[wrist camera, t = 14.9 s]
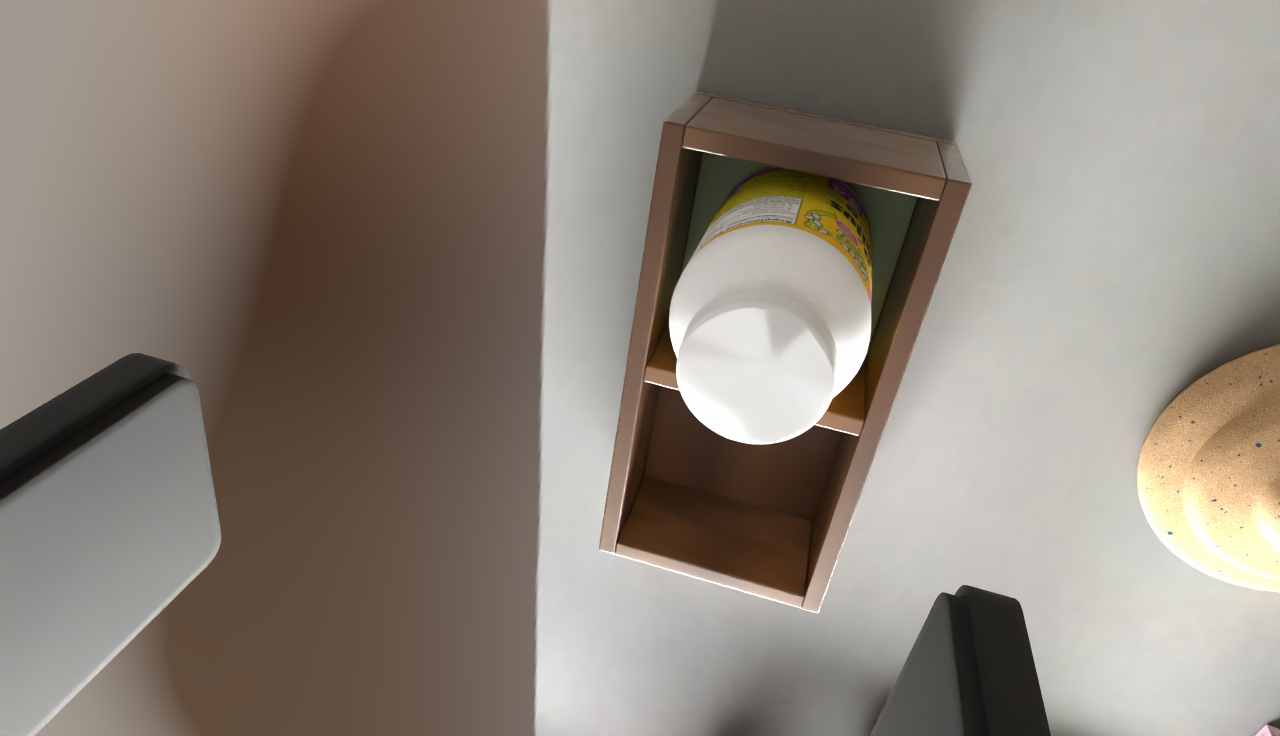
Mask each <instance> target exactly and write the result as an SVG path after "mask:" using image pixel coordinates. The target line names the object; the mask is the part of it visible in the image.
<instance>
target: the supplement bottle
mask: <svg viewBox="0 0 1280 736" xmlns="http://www.w3.org/2000/svg"><path fill="white" fill-rule="evenodd" d="M871 300H872V230H871V225H870V221H869V218H868V215H867V212H866V210H865V208H864V206H863V204H862V202H861V201H860V199H859V197H858V196H857V195H856V193H855V192H854V191H853V190H852V189H851V188H850V187H849V186H848V185H847V184H846V183H845V182H843V181H841V180H836V179H831V178H826V177H822V176H817V175H812V174H807V173H802V172H798V171H793V170H788V169H783V168H778V167H774V166H773V167H769V168H766V169H763V170H760V171H758V172H756V173H754V174H752V175H750V176H749V177H747V178H746V179H744V180H743V181H742V182H740V183H739V184H738V185H737V186H736V187H735V188H734V189H733V190H732V191H731V192H730V193H729V195H728V196H727V197H726V199H725V200H724V201H723V203H722V204H721V206H720V208H719V209H718V211H717V213H716V215H715V216H714V218H713V220H712V222H711V223H710V225H709V227H708V229H707V230H706V232H705V234H704V236H703V238H702V240H701V241H700V243H699V245H698V247H697V249H696V250H695V252H694V254H693V256H692V257H691V259H690V261H689V262H688V264H687V266H686V267H685V269H684V271H683V273H682V275H681V277H680V279H679V281H678V283H677V285H676V287H675V290H674V293H673V296H672V300H671V304H670V313H669V329H670V337H671V341H672V345H673V348H674V351H675V354H676V356H677V364H676V375H677V382H678V387H679V390H680V392H681V394H682V397H683V399H684V401H685V403H686V404H687V406H688V407H689V409H690V410H691V412H692V413H693V414H694V415H695V416H696V417H697V418H698V419H699V420H700V421H701V422H702V423H703V424H704V425H706V426H707V427H708V428H710V429H711V430H713V431H715V432H716V433H718V434H720V435H722V436H724V437H726V438H729V439H732V440H735V441H739V442H744V443H750V444H770V443H777V442H781V441H785V440H788V439H790V438H793V437H795V436H798V435H800V434H801V433H803V432H805V431H806V430H808V429H809V428H811V427H812V426H813V425H814V424H815V423H816V422H817V421H818V420H819V419H820V418H821V417H822V415H823V414H824V413H825V411H826V410H827V408H828V406H829V404H830V402H831V400H832V398H833V397H834V396H836V395H837V394H838V393H839V392H840V391H842V390H843V389H844V388H845V387H846V386H847V384H848V383H849V382H850V381H851V380H852V378H853V377H854V376H855V375H856V373H857V372H858V370H859V368H860V366H861V364H862V362H863V360H864V358H865V355H866V352H867V349H868V345H869V341H870V334H871Z"/></svg>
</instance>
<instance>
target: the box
mask: <svg viewBox="0 0 1280 736" xmlns="http://www.w3.org/2000/svg"><path fill="white" fill-rule="evenodd" d="M1255 736H1280V729H1278V728H1276V727H1273V726H1270V725H1267V724H1266V725H1265V726H1264V727H1263V728H1262V729H1261V730H1260V731H1259V732H1258V733H1257V734H1256V735H1255Z"/></svg>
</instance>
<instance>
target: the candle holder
mask: <svg viewBox="0 0 1280 736" xmlns="http://www.w3.org/2000/svg"><path fill="white" fill-rule="evenodd" d="M1137 486H1138V492H1139V498H1140V502H1141V505H1142V508H1143V510H1144V513H1145V515H1146V518H1147V520H1148V522H1149V524H1150V525H1151V527H1152V528H1153V530H1154V531H1155V533H1156V534H1157V535H1158V537H1159V538H1160V540H1161V541H1162V542H1163V543H1164V544H1165V545H1166V546H1167V547H1168V548H1169V549H1170V550H1171V551H1172V552H1173V553H1174V554H1176V555H1177V556H1179V557H1180V558H1181V559H1183V560H1184V561H1186V562H1187V563H1188V564H1190V565H1191V566H1193V567H1194V568H1196V569H1198V570H1200V571H1202V572H1204V573H1206V574H1208V575H1210V576H1212V577H1215V578H1218V579H1220V580H1223V581H1226V582H1229V583H1232V584H1235V585H1240V586H1244V587H1248V588H1253V589H1258V590H1267V591H1276V592H1280V344H1278V345H1275V346H1271V347H1268V348H1265V349H1261V350H1258V351H1255V352H1252V353H1249V354H1246V355H1244V356H1242V357H1239V358H1237V359H1235V360H1233V361H1230V362H1228V363H1226V364H1223V365H1222V366H1220V367H1218V368H1217V369H1215V370H1213V371H1211V372H1210V373H1208V374H1206V375H1205V376H1203V377H1201V378H1200V379H1198V380H1197V381H1196V382H1194V383H1193V384H1192V385H1191V386H1189V387H1188V388H1187V389H1185V390H1184V391H1183V392H1181V393H1180V394H1179V395H1178V396H1177V397H1176V398H1175V399H1174V400H1173V401H1172V402H1171V403H1170V404H1169V405H1168V406H1167V407H1166V408H1165V409H1164V411H1163V412H1162V414H1161V415H1160V416H1159V418H1158V419H1157V420H1156V422H1155V423H1154V425H1153V426H1152V428H1151V430H1150V432H1149V434H1148V436H1147V438H1146V440H1145V442H1144V444H1143V447H1142V451H1141V455H1140V458H1139V462H1138V478H1137Z"/></svg>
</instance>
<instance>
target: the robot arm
mask: <svg viewBox="0 0 1280 736" xmlns="http://www.w3.org/2000/svg"><path fill="white" fill-rule="evenodd" d="M220 542H221V531H220V524H219V518H218V512H217V506H216V500H215V494H214V487H213V481H212V474H211V468H210V462H209V456H208V450H207V443H206V437H205V431H204V424H203V418H202V412H201V406H200V399H199V393H198V389H197V386H196V384H195V383H194V382H193V381H192V380H190V377H189V374H188V371H187V370H186V369H185V368H184V367H183V366H181V365H179V364H176V363H173V362H169V361H165V360H162V359H158V358H155V357H151V356H148V355H144V354H140V353H136V354H130V355H127V356H125V357H123V358H121V359H119V360H118V361H116V362H114V363H113V364H111V365H109V366H108V367H106V368H104V369H102V370H101V371H99V372H97V373H96V374H94V375H92V376H91V377H89V378H87V379H86V380H84V381H82V382H81V383H79V384H77V385H75V386H74V387H72V388H70V389H69V390H67V391H65V392H64V393H62V394H60V395H59V396H57V397H55V398H53V399H52V400H50V401H48V402H47V403H45V404H43V405H42V406H40V407H38V408H36V409H35V410H33V411H32V412H30V413H28V414H27V415H25V416H23V417H21V418H20V419H18V420H17V421H15V422H13V423H11V424H9V425H8V426H6V427H4V428H3V429H1V430H0V736H34V735H35V734H36V733H37V732H39V730H40V729H41V728H43V726H45V725H46V724H47V723H48V722H49V721H50V720H51V719H52V718H53V717H54V716H55V715H56V714H57V713H58V712H59V711H60V710H61V709H62V708H63V707H64V706H65V705H66V704H67V703H68V702H69V701H70V700H71V699H72V698H73V697H74V696H75V695H76V694H77V693H78V692H79V691H80V690H81V689H82V688H83V687H84V686H85V685H86V684H87V683H88V682H89V681H90V680H91V679H92V678H93V677H94V676H95V675H96V674H97V673H99V671H100V670H102V668H104V667H105V665H107V664H108V663H109V662H110V661H111V660H112V659H113V658H114V657H115V656H116V655H117V654H118V653H119V652H120V651H121V650H122V649H123V648H124V647H125V646H126V645H127V644H128V643H129V642H130V641H131V640H132V639H133V638H134V637H135V636H136V635H137V634H138V633H139V632H140V631H141V630H142V629H143V628H144V627H145V626H146V625H147V624H148V623H149V622H150V621H151V620H152V619H153V618H154V617H155V616H156V615H157V614H158V613H160V612H161V611H162V610H163V609H164V608H165V607H166V606H167V605H168V604H169V602H170V601H172V600H173V599H174V598H175V597H176V596H177V595H178V594H179V593H180V592H181V591H182V590H183V589H184V588H185V587H186V586H187V585H188V584H189V583H190V582H191V581H192V580H193V579H194V578H195V577H196V576H197V575H198V574H199V573H200V572H201V571H202V570H203V569H204V568H205V567H206V566H207V565H208V564H209V563H210V562H211V561H212V559H213V558H214V557H215V555H216V553H217V551H218V548H219V546H220ZM870 736H1051V734H1050V730H1049V725H1048V721H1047V717H1046V712H1045V708H1044V703H1043V699H1042V695H1041V690H1040V686H1039V681H1038V677H1037V673H1036V668H1035V664H1034V659H1033V655H1032V651H1031V646H1030V642H1029V637H1028V633H1027V629H1026V624H1025V620H1024V615H1023V611H1022V608H1021V605H1020V603H1019V602H1018V601H1017V600H1016V599H1014V598H1011V597H1007V596H1003V595H1000V594H996V593H993V592H989V591H986V590H982V589H978V588H975V587H971V586H968V585H962V586H961V587H960V588H959V589H958V591H957V592H956V594H955V595H951V594H948V593H941V594H940V595H939V596H938V597H937V599H936V601H935V603H934V605H933V607H932V609H931V611H930V613H929V615H928V617H927V619H926V621H925V623H924V625H923V627H922V629H921V632H920V634H919V636H918V638H917V640H916V642H915V644H914V646H913V648H912V650H911V652H910V654H909V656H908V658H907V660H906V662H905V664H904V666H903V669H902V671H901V673H900V675H899V677H898V679H897V681H896V683H895V685H894V687H893V689H892V691H891V693H890V695H889V697H888V699H887V701H886V703H885V706H884V708H883V710H882V712H881V714H880V716H879V718H878V720H877V722H876V724H875V726H874V728H873V730H872V732H871V734H870Z"/></svg>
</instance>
